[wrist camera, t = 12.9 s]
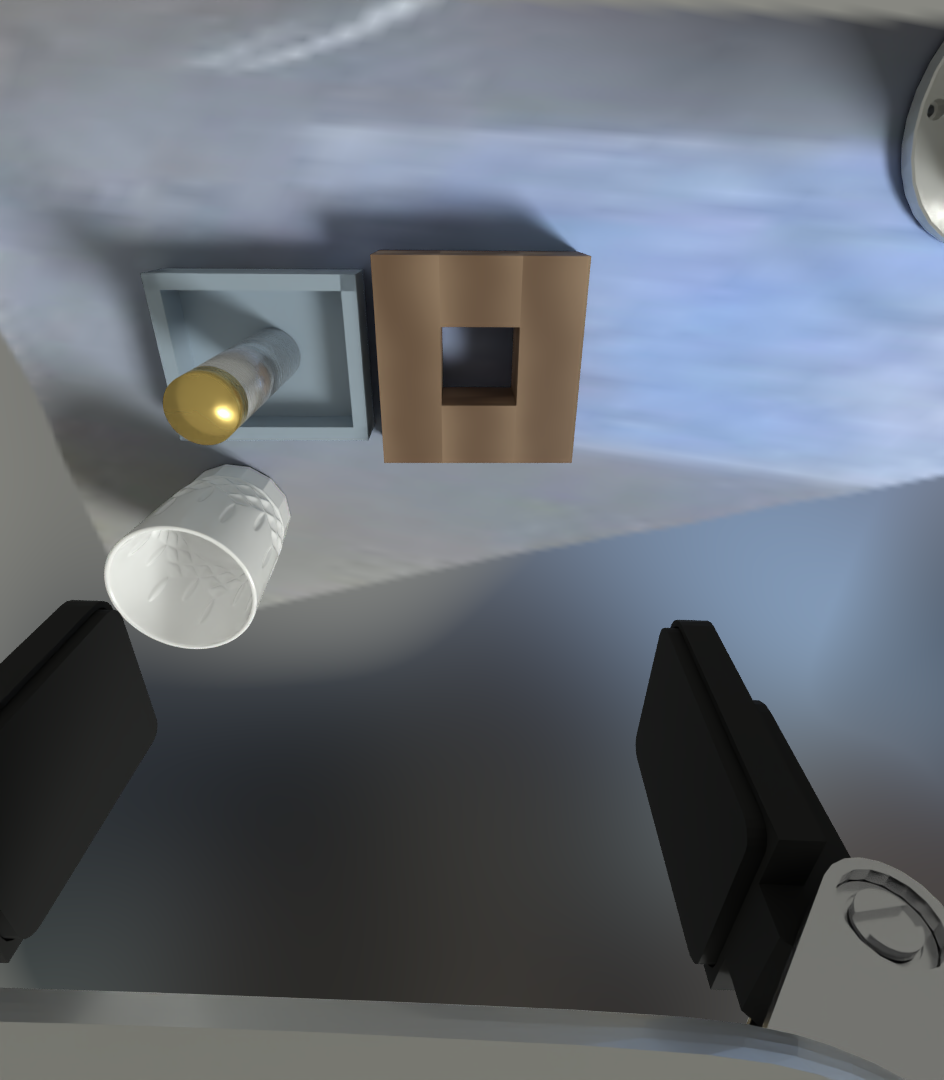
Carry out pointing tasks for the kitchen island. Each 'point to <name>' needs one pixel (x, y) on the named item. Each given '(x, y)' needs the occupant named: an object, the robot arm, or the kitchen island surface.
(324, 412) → the tray
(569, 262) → the socket block
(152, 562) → the white cup
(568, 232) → the kitchen island surface
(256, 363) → the pin
